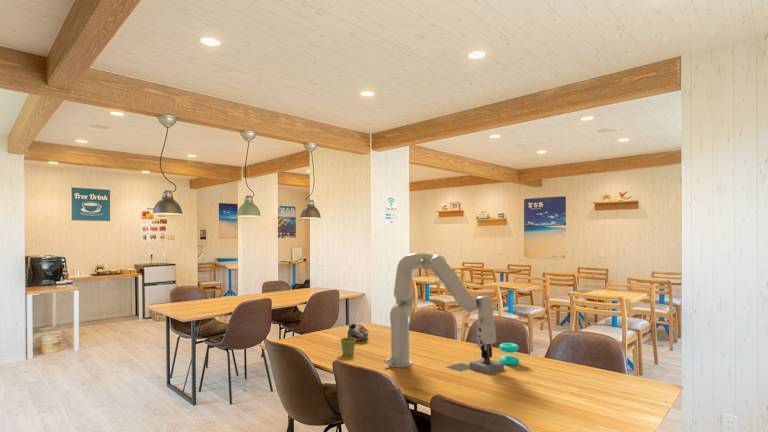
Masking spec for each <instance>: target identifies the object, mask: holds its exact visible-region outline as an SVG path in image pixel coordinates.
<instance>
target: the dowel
mask: <svg viewBox="0 0 768 432" xmlns="http://www.w3.org/2000/svg"><path fill="white" fill-rule="evenodd" d="M486 350H487V359H485V358H484V364H487V365H488V364H490V360H491V357H490V344H488V345H486Z"/></svg>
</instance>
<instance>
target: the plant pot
mask: <svg viewBox="0 0 768 432" xmlns="http://www.w3.org/2000/svg"><path fill="white" fill-rule="evenodd" d="M339 340H340V343H341V349H342V355H343V356H345V357H350V356H353V355H354V353H355V345H356V342H357V341H356V339H355V338H348V337H342V338H340V339H339Z"/></svg>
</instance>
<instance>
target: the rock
mask: <svg viewBox="0 0 768 432" xmlns="http://www.w3.org/2000/svg"><path fill="white" fill-rule="evenodd" d="M347 338H355V339H356V342H357V341H360V340H368V339H369V329H367V328H366V326H365V325H364V324H362V323H359V322H356V323H351V322H350V323H349V324H348V331H347Z"/></svg>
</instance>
